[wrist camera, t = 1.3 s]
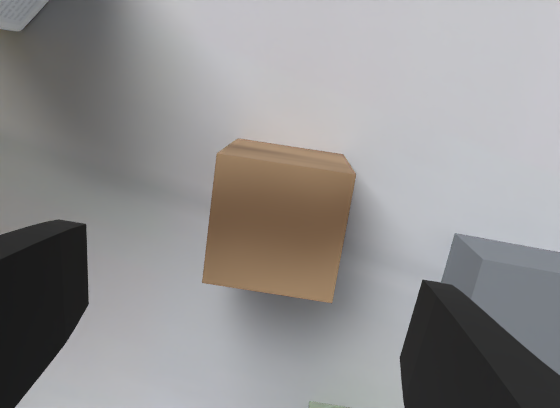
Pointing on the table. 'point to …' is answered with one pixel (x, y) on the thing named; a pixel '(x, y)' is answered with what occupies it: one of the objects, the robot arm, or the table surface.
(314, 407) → the sage block
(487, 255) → the slate base block
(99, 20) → the table surface
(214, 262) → the walnut block
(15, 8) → the syrup box
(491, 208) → the table surface
